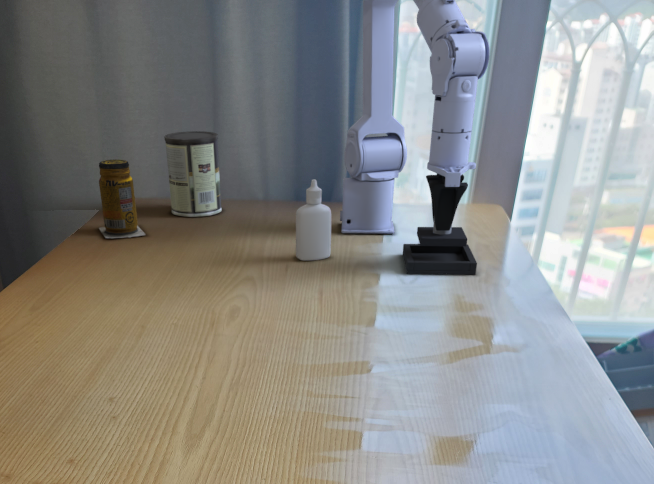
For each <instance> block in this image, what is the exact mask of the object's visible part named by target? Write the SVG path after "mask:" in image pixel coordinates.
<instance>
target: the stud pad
mask: <svg viewBox="0 0 654 484" xmlns="http://www.w3.org/2000/svg"><path fill="white" fill-rule="evenodd" d="M416 231H417V232H416V236H417V239H418V244H420V246H467V244H468V237H467V235H466V233H465V230H464V229H463V227H461V226H456V227H455V226H453V225H452V226H451V228H450V230H449V231H437V230H436V227H435V218H434V222H433V226H418V227H417V229H416Z"/></svg>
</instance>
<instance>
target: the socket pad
mask: <svg viewBox="0 0 654 484" xmlns="http://www.w3.org/2000/svg"><path fill="white" fill-rule="evenodd" d="M402 258H403V263H404V269H405V274H406V275H459V276H460V275H462V276H463V275H465V276H466V275H467V276H470V275H471V276H476V273H477V267H478V262H477V260H476V258H475V256H474V253H473V252H472V250H471V248H470V246H469V244H468V243H467V246H420V243H403V245H402Z"/></svg>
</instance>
